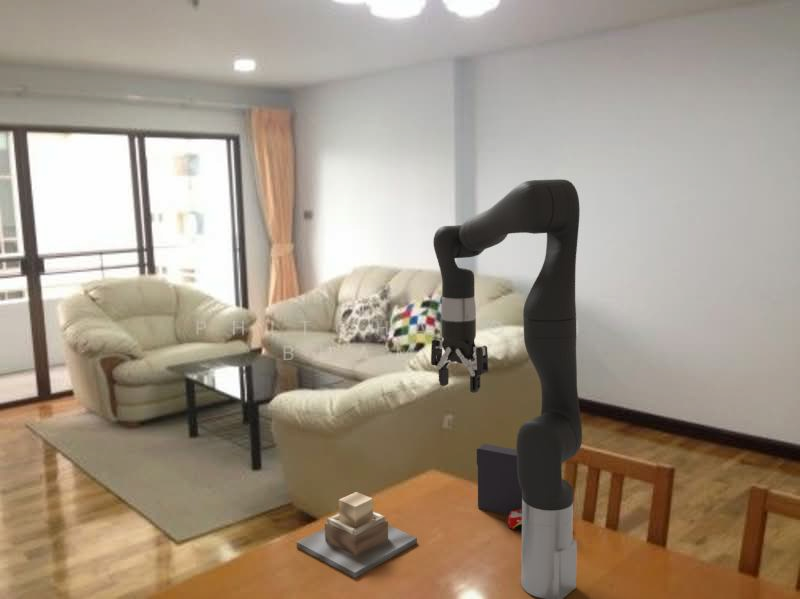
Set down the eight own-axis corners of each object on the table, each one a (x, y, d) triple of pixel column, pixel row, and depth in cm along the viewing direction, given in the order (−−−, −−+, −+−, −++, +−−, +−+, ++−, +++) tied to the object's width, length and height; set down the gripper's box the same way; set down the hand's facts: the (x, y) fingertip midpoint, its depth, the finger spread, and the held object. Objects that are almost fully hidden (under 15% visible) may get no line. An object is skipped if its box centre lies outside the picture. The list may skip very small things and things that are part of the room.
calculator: (527, 512, 160) (528, 450, 158) (521, 519, 157) (521, 456, 154) (484, 502, 166) (483, 442, 164) (476, 509, 162) (476, 448, 160)
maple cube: (373, 520, 146) (372, 498, 146) (356, 529, 143) (355, 506, 142) (356, 513, 150) (356, 491, 149) (339, 522, 146) (338, 499, 145)
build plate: (417, 542, 148) (416, 515, 147) (355, 578, 135) (354, 548, 134) (358, 516, 160) (357, 491, 159) (296, 547, 147) (295, 519, 146)
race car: (568, 524, 155) (568, 507, 154) (569, 536, 150) (569, 519, 149) (508, 520, 157) (508, 503, 157) (507, 531, 152) (507, 514, 152)
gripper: (495, 317, 150) (495, 390, 153) (444, 311, 160) (445, 379, 162) (474, 323, 145) (474, 398, 147) (422, 315, 154) (423, 386, 157)
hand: (459, 388), depth 155 cm, fingers open, 8 cm apart
